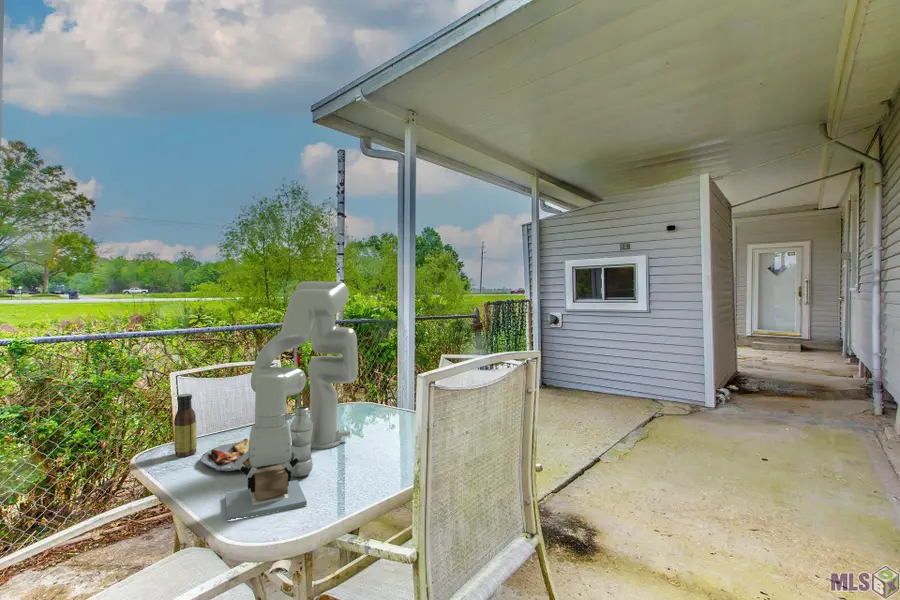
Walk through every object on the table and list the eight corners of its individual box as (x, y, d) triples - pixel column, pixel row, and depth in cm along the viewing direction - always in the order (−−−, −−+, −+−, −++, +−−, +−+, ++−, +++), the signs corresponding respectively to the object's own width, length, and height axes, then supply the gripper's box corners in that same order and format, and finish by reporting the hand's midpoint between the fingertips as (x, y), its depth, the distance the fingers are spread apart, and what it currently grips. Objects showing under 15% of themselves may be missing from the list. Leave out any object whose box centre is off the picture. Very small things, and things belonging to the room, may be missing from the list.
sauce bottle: (190, 449, 146) (191, 391, 146) (200, 453, 143) (201, 393, 143) (169, 455, 141) (170, 394, 141) (179, 459, 137) (180, 397, 137)
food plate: (187, 460, 136) (187, 449, 136) (256, 442, 155) (256, 432, 155) (229, 483, 122) (229, 470, 122) (298, 459, 141) (299, 449, 141)
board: (297, 484, 121) (297, 479, 121) (306, 505, 109) (306, 500, 109) (225, 497, 112) (225, 492, 112) (226, 522, 100) (226, 517, 100)
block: (281, 482, 117) (281, 464, 117) (287, 493, 111) (287, 474, 111) (251, 489, 113) (252, 470, 113) (256, 500, 107) (256, 480, 107)
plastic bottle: (317, 472, 129) (318, 406, 129) (302, 481, 123) (303, 411, 123) (299, 469, 131) (300, 404, 131) (284, 477, 125) (285, 409, 125)
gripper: (302, 413, 119) (301, 475, 119) (232, 420, 111) (231, 488, 111) (307, 420, 113) (306, 486, 113) (233, 428, 104) (232, 500, 104)
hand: (269, 487), depth 112 cm, fingers closed on block, 7 cm apart
